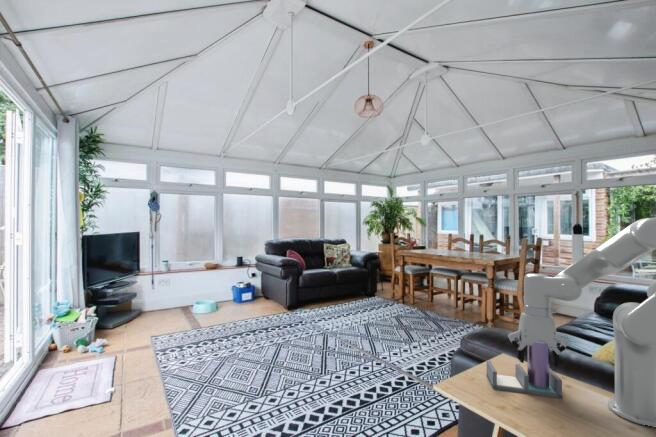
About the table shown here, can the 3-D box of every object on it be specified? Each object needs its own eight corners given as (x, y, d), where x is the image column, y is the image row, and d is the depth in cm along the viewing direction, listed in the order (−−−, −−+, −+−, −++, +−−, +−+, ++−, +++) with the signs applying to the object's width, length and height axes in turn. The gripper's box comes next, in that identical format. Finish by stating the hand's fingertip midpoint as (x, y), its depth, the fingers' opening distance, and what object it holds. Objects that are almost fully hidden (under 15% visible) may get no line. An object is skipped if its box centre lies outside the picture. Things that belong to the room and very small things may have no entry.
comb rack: (549, 384, 105) (549, 368, 106) (562, 398, 97) (561, 380, 97) (486, 375, 111) (486, 360, 111) (492, 388, 102) (492, 371, 102)
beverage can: (552, 390, 99) (553, 343, 99) (532, 388, 100) (532, 341, 101) (543, 381, 105) (543, 336, 105) (524, 379, 106) (524, 335, 106)
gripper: (562, 310, 105) (562, 362, 104) (505, 306, 109) (505, 355, 109) (573, 316, 97) (573, 371, 97) (511, 311, 102) (511, 364, 101)
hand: (537, 363), depth 103 cm, fingers open, 9 cm apart
